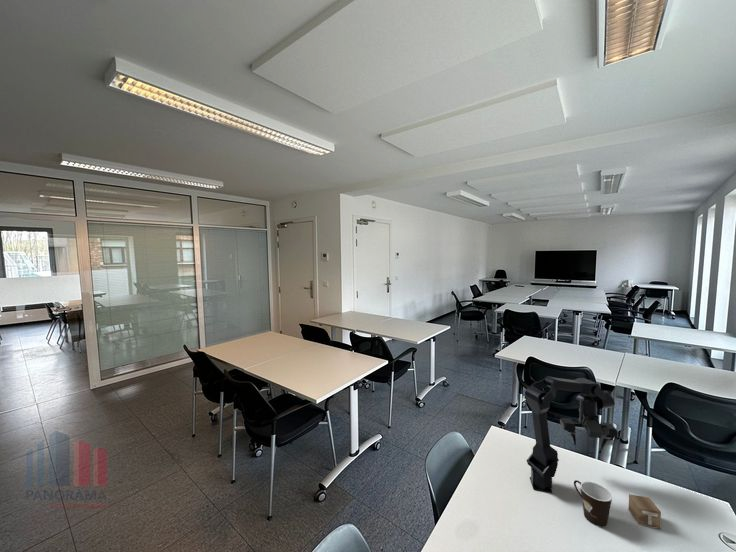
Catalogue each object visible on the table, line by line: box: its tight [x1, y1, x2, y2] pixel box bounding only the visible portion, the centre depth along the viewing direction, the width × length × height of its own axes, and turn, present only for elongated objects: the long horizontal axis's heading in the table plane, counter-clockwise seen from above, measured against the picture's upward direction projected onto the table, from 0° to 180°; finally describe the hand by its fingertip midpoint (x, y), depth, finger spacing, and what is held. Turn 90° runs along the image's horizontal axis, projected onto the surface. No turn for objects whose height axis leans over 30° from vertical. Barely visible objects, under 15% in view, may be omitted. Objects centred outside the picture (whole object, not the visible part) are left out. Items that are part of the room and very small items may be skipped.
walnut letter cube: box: [628, 493, 662, 530], centre depth 100 cm, size 6×6×6 cm
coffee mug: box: [573, 479, 613, 528], centre depth 102 cm, size 12×9×10 cm
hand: (587, 446), depth 121 cm, fingers open, 9 cm apart
